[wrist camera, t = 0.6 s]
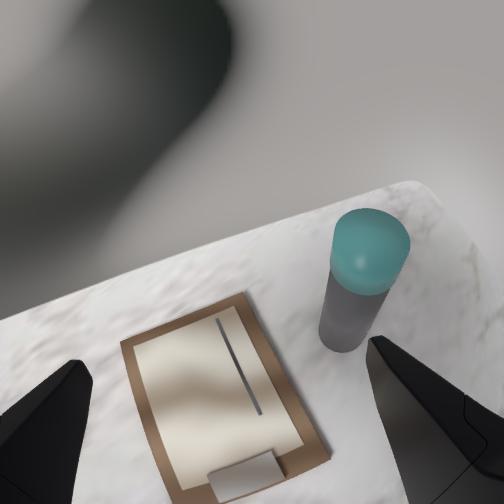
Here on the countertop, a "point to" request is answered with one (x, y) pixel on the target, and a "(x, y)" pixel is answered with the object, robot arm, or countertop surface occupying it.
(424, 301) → the countertop surface
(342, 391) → the countertop surface
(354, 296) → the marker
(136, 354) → the clipboard
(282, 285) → the countertop surface
